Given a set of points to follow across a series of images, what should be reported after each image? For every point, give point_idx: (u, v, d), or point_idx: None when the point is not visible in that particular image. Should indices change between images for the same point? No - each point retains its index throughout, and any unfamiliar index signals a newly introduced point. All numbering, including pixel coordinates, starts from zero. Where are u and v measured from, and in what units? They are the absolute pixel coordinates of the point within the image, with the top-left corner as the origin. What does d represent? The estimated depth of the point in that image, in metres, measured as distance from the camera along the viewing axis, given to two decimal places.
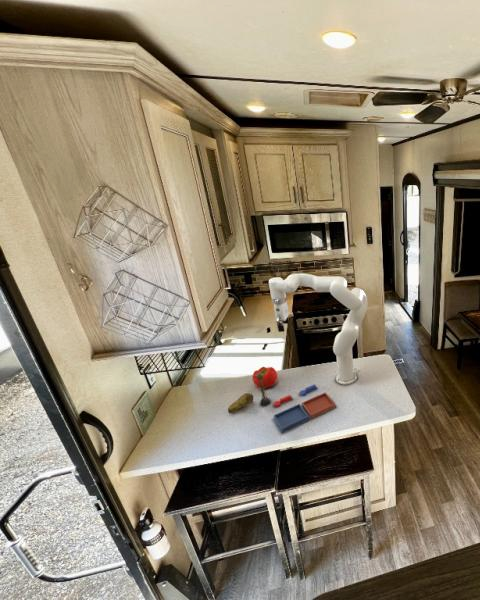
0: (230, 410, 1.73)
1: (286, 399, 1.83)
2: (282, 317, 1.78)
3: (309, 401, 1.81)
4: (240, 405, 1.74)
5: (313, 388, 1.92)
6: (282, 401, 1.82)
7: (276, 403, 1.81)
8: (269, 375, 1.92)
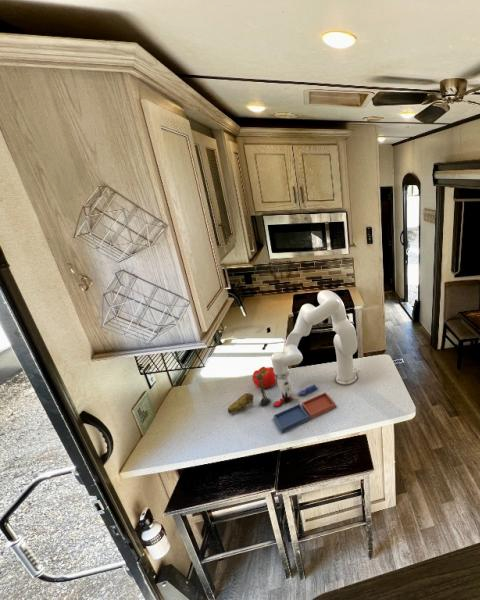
0: (230, 410, 1.73)
1: None
2: (290, 389, 1.78)
3: (309, 401, 1.81)
4: (240, 405, 1.74)
5: (313, 388, 1.92)
6: (282, 401, 1.82)
7: (276, 403, 1.81)
8: (269, 375, 1.92)
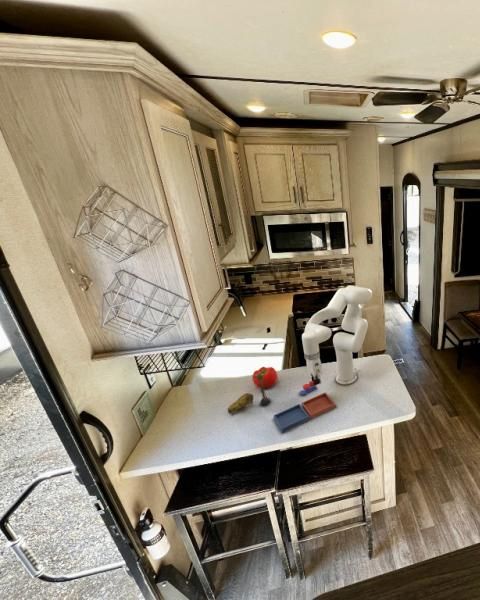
0: (230, 410, 1.73)
1: None
2: (321, 370, 1.69)
3: (309, 401, 1.81)
4: (240, 405, 1.74)
5: (313, 388, 1.92)
6: (311, 384, 1.73)
7: (306, 386, 1.72)
8: (269, 375, 1.92)
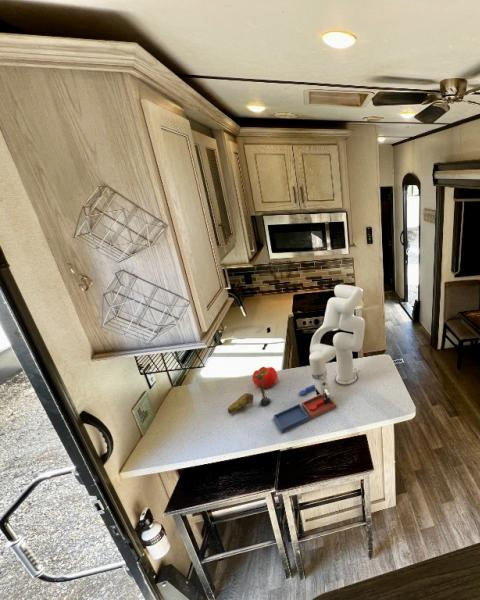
0: (230, 410, 1.73)
1: (322, 403, 1.79)
2: (328, 389, 1.74)
3: (309, 401, 1.81)
4: (240, 405, 1.74)
5: (313, 388, 1.92)
6: (318, 405, 1.78)
7: (313, 407, 1.77)
8: (269, 375, 1.92)
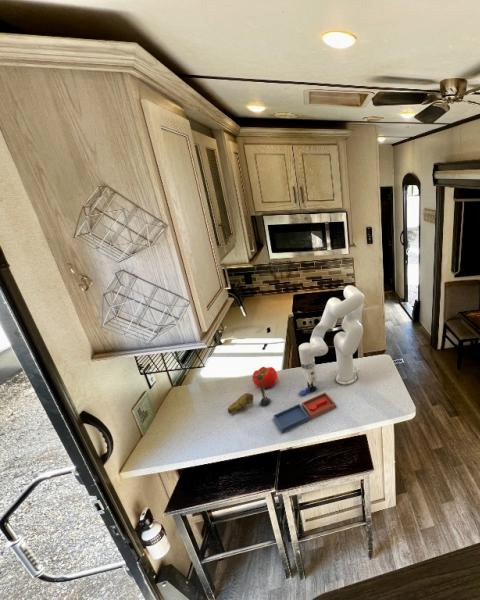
0: (230, 410, 1.73)
1: (322, 403, 1.79)
2: (316, 378, 1.86)
3: (309, 401, 1.81)
4: (240, 405, 1.74)
5: None
6: (318, 405, 1.78)
7: (313, 407, 1.77)
8: (269, 375, 1.92)
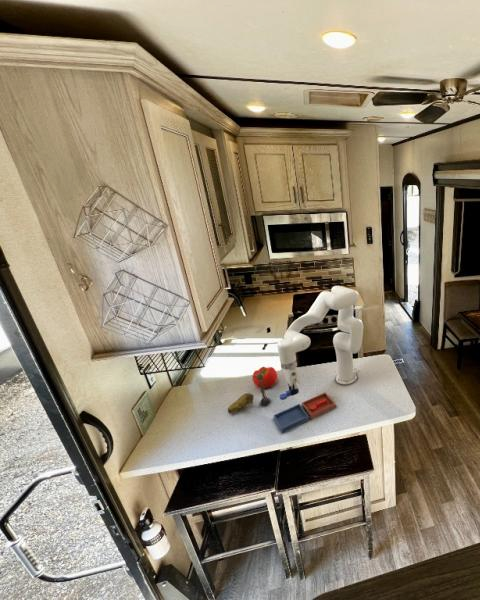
0: (230, 410, 1.73)
1: (322, 403, 1.79)
2: (298, 380, 1.62)
3: (309, 401, 1.81)
4: (240, 405, 1.74)
5: None
6: (318, 405, 1.78)
7: (313, 407, 1.77)
8: (269, 375, 1.92)
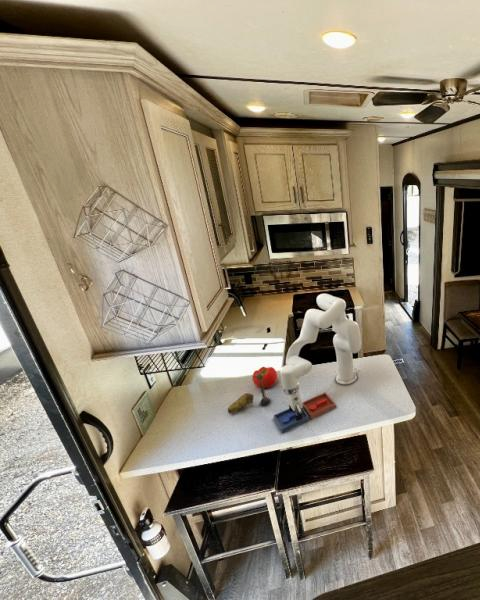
0: (230, 410, 1.73)
1: (322, 403, 1.79)
2: (301, 404, 1.66)
3: (309, 401, 1.81)
4: (240, 405, 1.74)
5: None
6: (318, 405, 1.78)
7: (313, 407, 1.77)
8: (269, 375, 1.92)
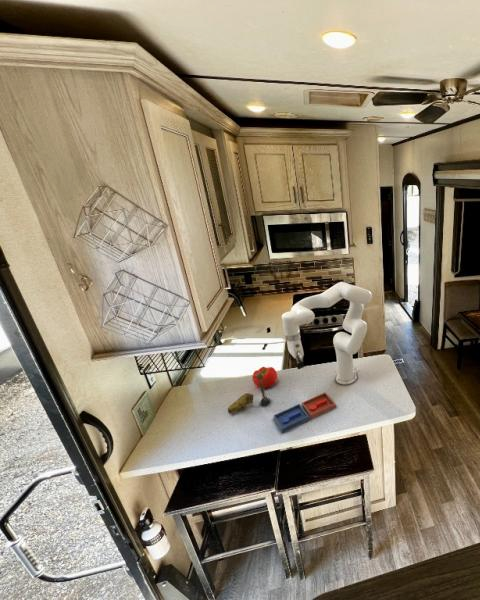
0: (230, 410, 1.73)
1: (322, 403, 1.79)
2: (302, 352, 1.66)
3: (309, 401, 1.81)
4: (240, 405, 1.74)
5: (297, 415, 1.71)
6: (318, 405, 1.78)
7: (313, 407, 1.77)
8: (269, 375, 1.92)
